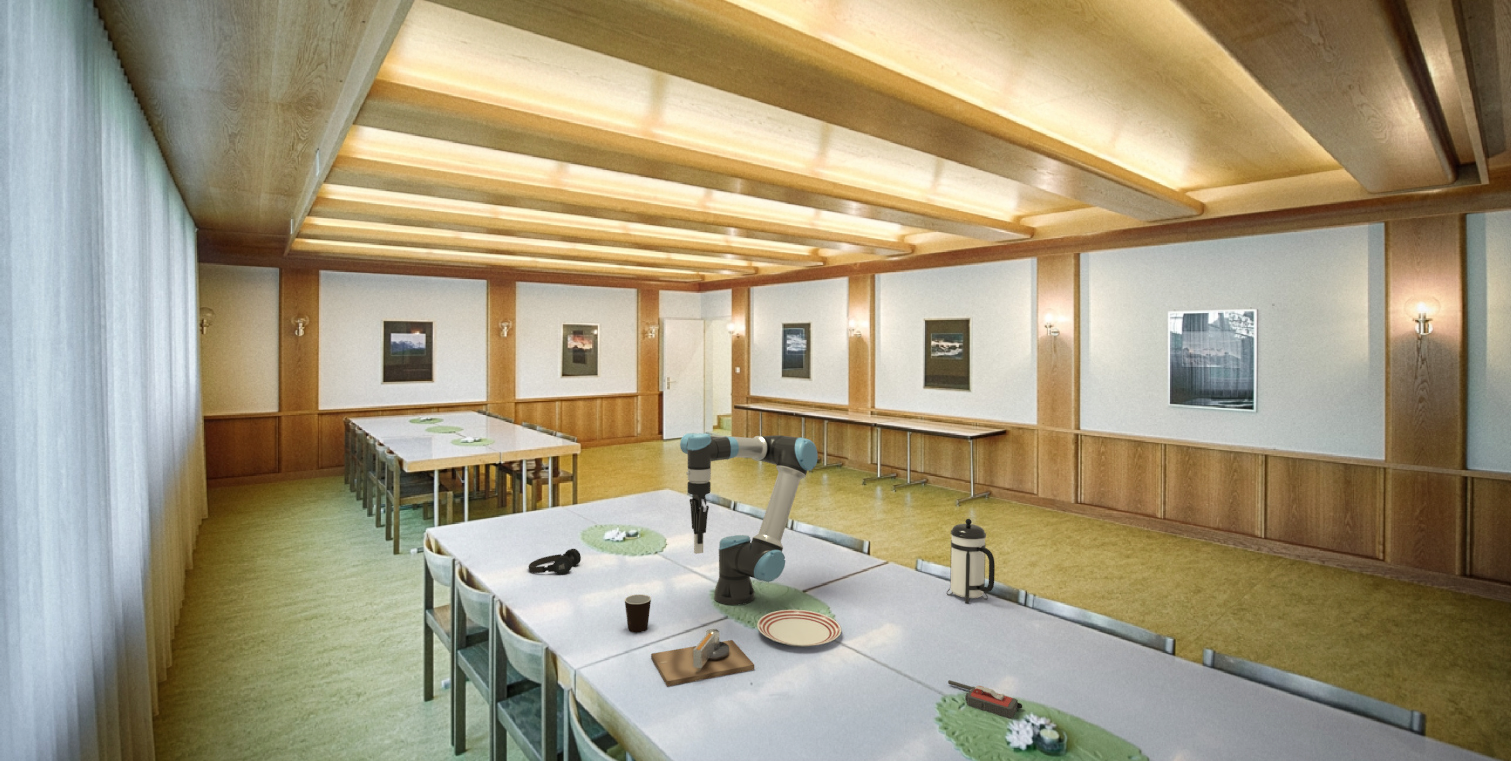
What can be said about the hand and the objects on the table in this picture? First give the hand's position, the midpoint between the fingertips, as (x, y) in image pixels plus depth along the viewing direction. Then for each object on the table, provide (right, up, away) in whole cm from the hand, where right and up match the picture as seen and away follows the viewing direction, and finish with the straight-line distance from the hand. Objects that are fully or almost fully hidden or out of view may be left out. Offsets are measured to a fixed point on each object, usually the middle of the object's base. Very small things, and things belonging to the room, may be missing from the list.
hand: (698, 552), depth 216 cm
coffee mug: (-20, -26, +4) cm, 33 cm away
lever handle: (+5, -26, -22) cm, 34 cm away
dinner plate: (+33, -27, 0) cm, 43 cm away
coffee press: (+100, -26, +34) cm, 109 cm away
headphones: (-67, -24, +63) cm, 95 cm away
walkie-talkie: (+78, -29, -41) cm, 93 cm away
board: (+3, -27, -22) cm, 35 cm away
